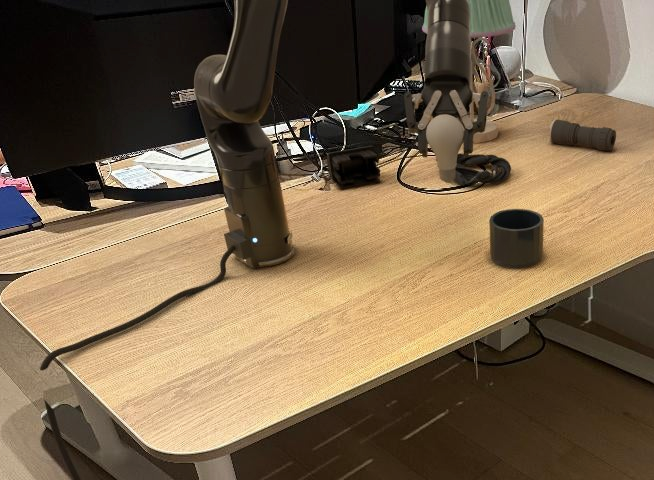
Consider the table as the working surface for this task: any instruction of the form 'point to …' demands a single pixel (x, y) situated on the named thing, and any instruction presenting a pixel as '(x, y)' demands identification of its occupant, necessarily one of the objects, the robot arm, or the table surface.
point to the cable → (485, 177)
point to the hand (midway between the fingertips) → (445, 154)
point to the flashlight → (581, 135)
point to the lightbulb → (445, 143)
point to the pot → (516, 238)
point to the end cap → (354, 167)
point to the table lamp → (487, 20)
